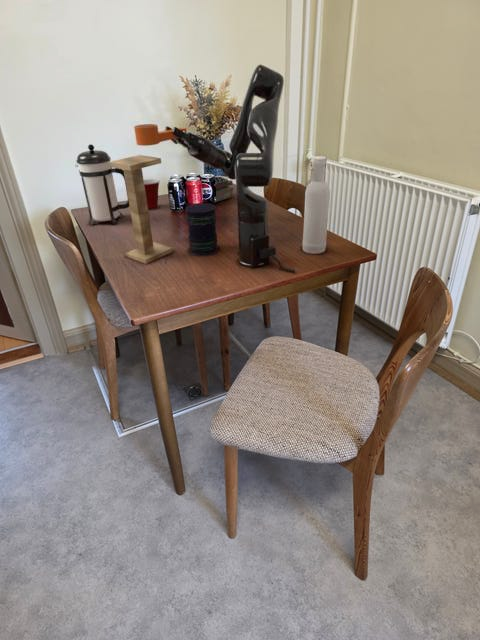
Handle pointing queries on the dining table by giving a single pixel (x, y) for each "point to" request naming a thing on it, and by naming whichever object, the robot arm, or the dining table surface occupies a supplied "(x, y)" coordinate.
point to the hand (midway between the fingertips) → (169, 129)
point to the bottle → (316, 210)
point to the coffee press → (99, 185)
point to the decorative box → (222, 188)
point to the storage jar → (202, 228)
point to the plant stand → (140, 208)
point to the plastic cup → (151, 192)
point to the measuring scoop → (152, 134)
